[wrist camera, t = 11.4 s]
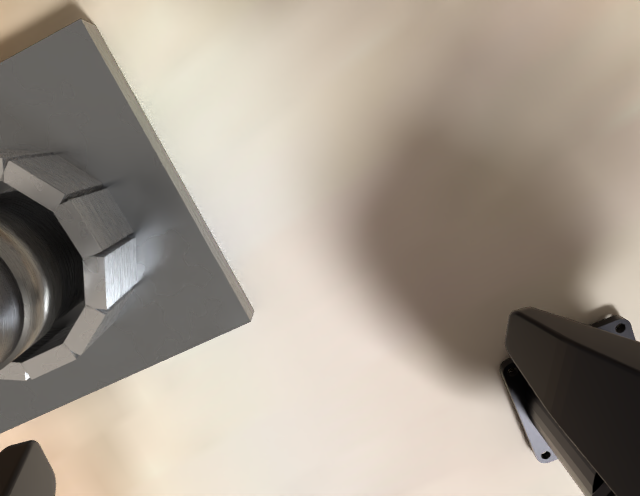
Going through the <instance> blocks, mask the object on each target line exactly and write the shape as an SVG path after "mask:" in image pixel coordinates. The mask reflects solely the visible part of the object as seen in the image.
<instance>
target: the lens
mask: <svg viewBox="0 0 640 496" xmlns="http://www.w3.org/2000/svg"><path fill="white" fill-rule="evenodd" d="M84 300H85V290H84V274H83V258H82V256H81V255H80V253H79V252H78V250H77V249H76V247H75V246H74V244H73V242H72V241H71V239H70V238H69V236H68V235H67V233H66V232H65V230H64V229H63V227H62V225H61V224H60V222H59V221H58V219H57V218H56V216H55V215H54V213H53V212H52V211H51V210H49V209H47V208H46V207H44V206H43V205H41V204H39V203H38V202H36V201H34V200H33V199H31V198H29V197H28V196H26V195H24V194H23V193H21V192H20V191H18V190H16V191H10V192H6V193H2V194H0V370H1V369H3V368H4V367H6V366H7V365H8V364H9V363H11V362H12V361H13V360H14V359H16V358H17V357H18V356H20V355H21V354H22V353H23V352H25V351H26V350H27V349H28V348H30V347H31V346H32V345H33V344H35V343H36V342H37V341H39V340H40V339H41V338H42V337H43V336H44V335H46V333H47V332H48V331H49V330H50V329H51V328H52V326H53V324H54V323H55V322H56V321H58V320H59V319H60V318H62V317H63V316H64V315H66V314H67V313H68V312H69V311H71V310H72V309H73V308H75V307H76V306H77V305H78V304H80V303H81V302H82V301H84Z"/></svg>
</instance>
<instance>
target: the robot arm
mask: <svg viewBox="0 0 640 496" xmlns="http://www.w3.org/2000/svg"><path fill="white" fill-rule="evenodd" d="M618 324H620V326H619V328H617V329H615V328H616V326H617V325H618ZM505 346H506V350H507V352H508V354H509V355H510V357H511V358H509V359H507V360H505V361H503V362H502V364H501V365H500V373H501V375H502V377H503V380H504V382H505V385H506V387H507V390H508V392H509V395H510V397H511V400H512V402H513V405H514V407H515V409H516V412H517V414H518V417H519V419H520V422H521V424H522V427H523V429H524V432H525V434H526V437H527V439H528V441H529V444H530V446H531V449H532V451H533V454H534V455H535V457H536V458H537V460H538V461H539V462H541V463H548V462H551V461H554V460H556V459H559V461H560V462H561V463H562V465H563V466H564V468H565V469H566V470H567V472H568V473H569V474H570V476H571V477H572V479H573V480H574V481H575V483H576V484H577V485H578V487H579V488H580V489H581V491H582V492H583V494H584V495H585V496H640V342H638V341H636V340H635V337H634V333H633V330H632V327H631V324H630V322H629V321H628V320H626V319H625V318H623V317H621V316H618V315H616V316H612V317H609V318H607V319H605V320H602V321H600V322H597V323H595V324H592V325H590V326H589V325H585V324H582V323H579V322H576V321H573V320H570V319H567V318H564V317H561V316H558V315H554V314H551V313H548V312H545V311H542V310H539V309H536V308H533V307H525V308H521V309H518V310H514V311H512V312H511V314H510V315H509V319H508V325H507V331H506V337H505ZM513 367H514V370H513V371H512V372H508V370H509V369H510V368H513ZM545 451H546V452H545ZM543 452H545V453H544V454H542V453H543ZM55 491H56V480H55V475H54V472H53V469H52V467H51V466H50V464H49V462H48V460H47V458H46V456H45V454H44V452H43V450H42V448H41V446H40V445H39V443H38V442H36V441H34V440H29V441H26V442H22V443H18V444H15V445H11V446H8V447H6V448H5V449H4V450H2V451H1V452H0V496H55Z"/></svg>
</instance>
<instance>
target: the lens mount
mask: <svg viewBox="0 0 640 496" xmlns="http://www.w3.org/2000/svg"><path fill="white" fill-rule="evenodd" d="M16 190H18V191H20V192H21V193H23V194H24V195H26V196H28V197H29V198H31V199H33V200H34V201H36V202H38V203H39V204H41V205H43V206H44V207H46V208H47V209H49V210H51V211H52V212H53V213H54V215H55V216H56V218H57V219H58V221H59V222H60V224H61V225H62V227H63V229H64V230H65V232H66V233H67V235H68V236H69V238H70V239H71V241H72V242H73V244H74V246H75V247H76V249H77V250H78V252H79V253H80V255H81V256H82V258H83V274H84V290H85V300H84V301H82V302H81V303H80V304H78V305H77V306H76V307H75V308H73V309H72V310H71V311H69V312H68V313H67V314H66V315H64V316H63V317H62V318H60V319H59V320H58V321H56V322H55V323H54V324H53V326H52V328H51V329H50V330H49V331H48V332H47V333H46V335H44V336H43V337H42V338H41V339H40V340H39V341H37V342H36V343H35V344H33V345H32V346H31V347H30V348H28V349H27V350H26V351H25V352H23V353H22V354H21V355H20V356H18V357H17V358H16V359H14V360H13V361H12V362H11V363H9V364H8V365H7V366H6V367H4V368H3V369H1V370H0V433H3V432H5V431H7V430H9V429H12V428H14V427H16V426H18V425H20V424H23V423H25V422H27V421H29V420H32V419H34V418H36V417H38V416H41V415H43V414H45V413H47V412H50V411H52V410H54V409H56V408H59V407H61V406H63V405H65V404H67V403H70V402H72V401H74V400H76V399H79V398H81V397H83V396H85V395H88V394H90V393H92V392H94V391H97V390H99V389H101V388H103V387H106V386H108V385H110V384H112V383H114V382H117V381H119V380H121V379H123V378H126V377H128V376H130V375H132V374H135V373H137V372H139V371H141V370H144V369H146V368H148V367H150V366H153V365H155V364H157V363H159V362H162V361H164V360H166V359H168V358H170V357H173V356H175V355H177V354H179V353H182V352H184V351H186V350H188V349H191V348H193V347H195V346H197V345H200V344H202V343H204V342H206V341H209V340H211V339H213V338H215V337H217V336H220V335H222V334H224V333H226V332H229V331H231V330H233V329H235V328H238V327H240V326H242V325H244V324H247V323H249V322H251V319H252V316H253V313H254V310H253V308H252V306H251V304H250V303H249V301H248V299H247V297H246V295H245V294H244V292H243V290H242V288H241V286H240V285H239V283H238V281H237V279H236V277H235V276H234V274H233V272H232V270H231V268H230V267H229V265H228V263H227V261H226V259H225V258H224V256H223V254H222V252H221V250H220V249H219V247H218V245H217V243H216V241H215V240H214V238H213V236H212V234H211V232H210V231H209V229H208V227H207V225H206V223H205V222H204V220H203V218H202V216H201V214H200V213H199V211H198V209H197V207H196V205H195V204H194V202H193V200H192V198H191V196H190V195H189V193H188V191H187V189H186V187H185V186H184V184H183V182H182V180H181V178H180V177H179V175H178V173H177V171H176V169H175V168H174V166H173V164H172V162H171V160H170V159H169V157H168V155H167V153H166V151H165V150H164V148H163V146H162V144H161V142H160V141H159V139H158V137H157V135H156V133H155V132H154V130H153V128H152V126H151V124H150V123H149V121H148V119H147V117H146V115H145V114H144V112H143V110H142V108H141V106H140V105H139V103H138V101H137V99H136V97H135V96H134V94H133V92H132V90H131V88H130V87H129V85H128V83H127V81H126V79H125V78H124V76H123V74H122V72H121V70H120V69H119V67H118V65H117V63H116V61H115V60H114V58H113V56H112V54H111V52H110V51H109V49H108V47H107V45H106V43H105V42H104V40H103V38H102V36H101V34H100V33H99V31H98V29H97V27H96V25H94V24H91V23H89V22H87V21H85V20H83V19H79V20H77V21H75V22H74V23H72V24H70V25H68V26H66V27H65V28H63V29H61V30H59V31H57V32H55V33H54V34H52V35H50V36H48V37H46V38H45V39H43V40H41V41H39V42H37V43H35V44H34V45H32V46H30V47H28V48H26V49H25V50H23V51H21V52H19V53H17V54H15V55H14V56H12V57H10V58H8V59H6V60H5V61H3V62H1V63H0V194H2V193H6V192H10V191H16Z"/></svg>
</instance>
